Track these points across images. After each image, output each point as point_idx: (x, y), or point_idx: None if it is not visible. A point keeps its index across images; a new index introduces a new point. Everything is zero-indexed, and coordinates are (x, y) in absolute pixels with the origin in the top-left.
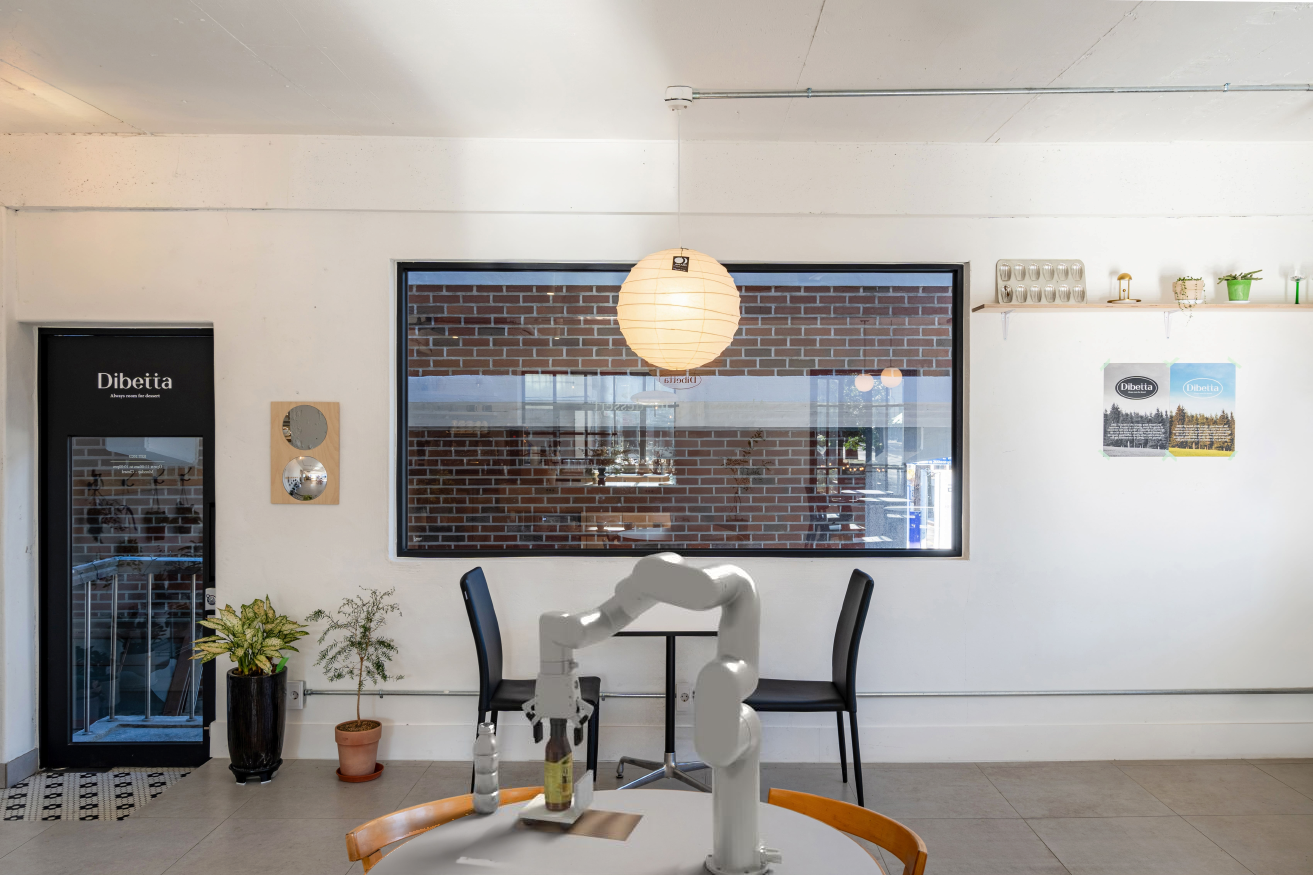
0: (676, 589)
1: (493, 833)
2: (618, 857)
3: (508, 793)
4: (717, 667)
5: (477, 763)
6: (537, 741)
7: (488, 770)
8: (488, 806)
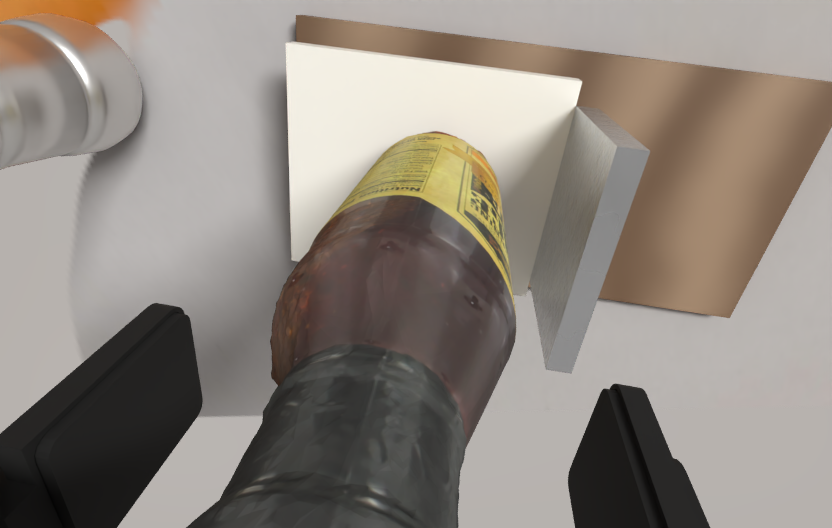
0: None
1: (244, 260)
2: (691, 375)
3: None
4: None
5: None
6: (193, 418)
7: None
8: (120, 140)
